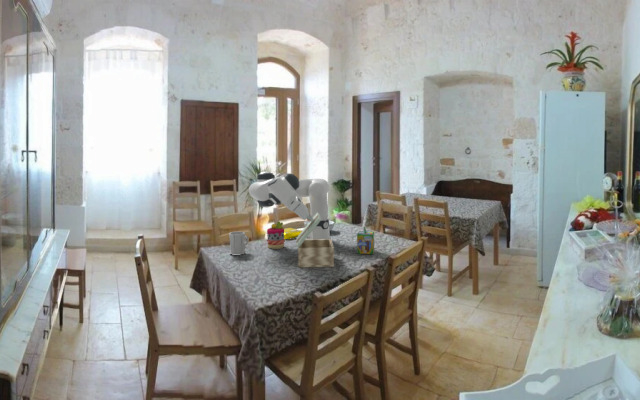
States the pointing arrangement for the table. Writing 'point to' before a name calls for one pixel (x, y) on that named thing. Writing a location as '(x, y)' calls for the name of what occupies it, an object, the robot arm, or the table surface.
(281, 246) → the cake
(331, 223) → the serving bowl
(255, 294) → the table surface
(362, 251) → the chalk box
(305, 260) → the birch box
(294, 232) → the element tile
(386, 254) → the table surface
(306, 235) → the lid
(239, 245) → the cup
